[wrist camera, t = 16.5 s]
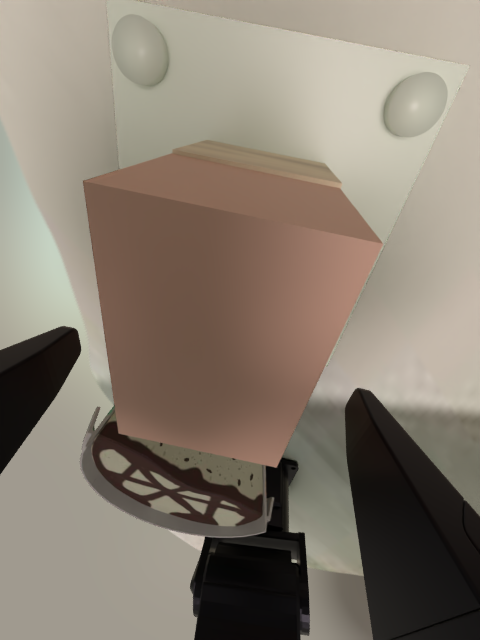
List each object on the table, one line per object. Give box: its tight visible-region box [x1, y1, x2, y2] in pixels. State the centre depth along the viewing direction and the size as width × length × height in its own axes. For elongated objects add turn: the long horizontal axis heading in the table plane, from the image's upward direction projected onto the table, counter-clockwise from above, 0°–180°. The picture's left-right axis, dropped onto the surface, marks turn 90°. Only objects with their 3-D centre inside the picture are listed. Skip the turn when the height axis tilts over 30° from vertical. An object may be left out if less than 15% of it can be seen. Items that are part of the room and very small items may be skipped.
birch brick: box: [172, 140, 342, 189], centre depth 14 cm, size 8×6×5 cm
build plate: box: [106, 0, 470, 367], centre depth 16 cm, size 16×14×2 cm
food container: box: [80, 405, 274, 538], centre depth 21 cm, size 12×6×10 cm, turn 53°
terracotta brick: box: [83, 153, 383, 468], centre depth 10 cm, size 8×6×5 cm
